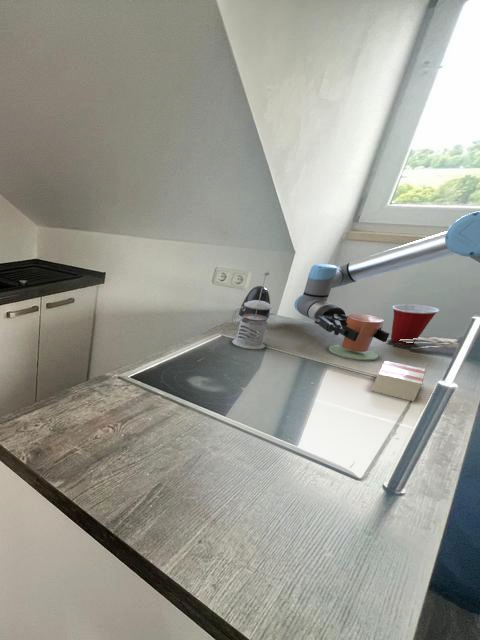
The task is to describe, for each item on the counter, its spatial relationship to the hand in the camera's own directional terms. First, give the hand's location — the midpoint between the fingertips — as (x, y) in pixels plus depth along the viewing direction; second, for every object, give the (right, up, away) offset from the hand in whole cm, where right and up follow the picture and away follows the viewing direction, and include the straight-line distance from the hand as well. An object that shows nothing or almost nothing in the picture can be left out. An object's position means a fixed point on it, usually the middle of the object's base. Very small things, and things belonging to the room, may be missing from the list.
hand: (370, 337), depth 117 cm
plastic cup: (+25, -1, +15) cm, 30 cm away
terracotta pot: (+1, -3, +7) cm, 7 cm away
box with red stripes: (-7, -15, -14) cm, 22 cm away
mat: (+1, -5, +7) cm, 9 cm away
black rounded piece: (-14, +7, +35) cm, 38 cm away
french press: (-27, -1, +17) cm, 32 cm away
